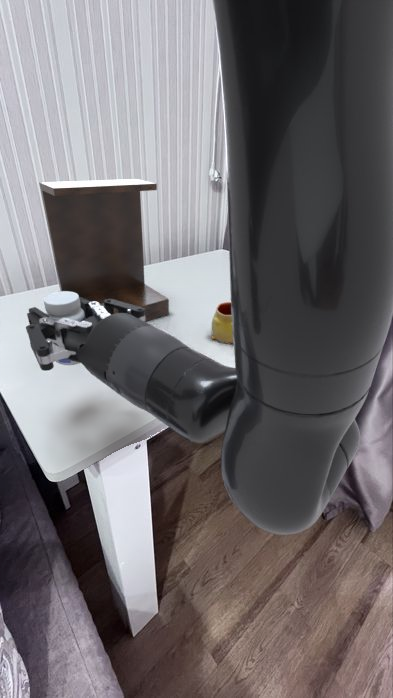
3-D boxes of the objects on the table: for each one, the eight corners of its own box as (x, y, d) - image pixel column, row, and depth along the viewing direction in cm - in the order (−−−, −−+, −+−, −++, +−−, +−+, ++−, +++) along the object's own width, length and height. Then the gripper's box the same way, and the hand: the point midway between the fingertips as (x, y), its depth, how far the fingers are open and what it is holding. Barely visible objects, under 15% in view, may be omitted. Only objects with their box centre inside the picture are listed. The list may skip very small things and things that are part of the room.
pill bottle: (98, 354, 44) (90, 295, 40) (70, 370, 41) (58, 309, 37) (74, 343, 47) (64, 286, 42) (45, 358, 43) (31, 298, 39)
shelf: (86, 339, 67) (61, 191, 52) (65, 316, 75) (38, 182, 60) (168, 314, 77) (168, 186, 63) (143, 296, 85) (136, 178, 70)
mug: (235, 348, 66) (239, 318, 63) (205, 339, 69) (207, 310, 65) (255, 324, 75) (259, 296, 72) (227, 316, 78) (230, 290, 74)
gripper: (191, 306, 35) (97, 267, 45) (69, 360, 26) (-17, 296, 35) (189, 363, 39) (104, 316, 49) (83, 428, 30) (2, 354, 39)
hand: (53, 308), depth 42 cm, fingers closed on pill bottle, 4 cm apart
